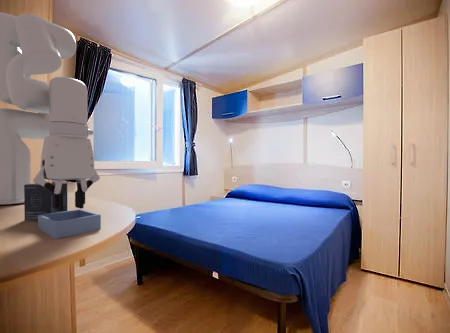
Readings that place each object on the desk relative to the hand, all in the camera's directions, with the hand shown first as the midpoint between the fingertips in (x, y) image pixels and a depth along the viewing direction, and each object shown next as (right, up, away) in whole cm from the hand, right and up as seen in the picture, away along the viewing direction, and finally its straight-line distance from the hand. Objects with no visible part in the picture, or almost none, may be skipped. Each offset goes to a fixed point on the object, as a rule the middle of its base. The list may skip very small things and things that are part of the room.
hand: (69, 208), depth 55 cm
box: (-11, -5, +7) cm, 14 cm away
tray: (0, -5, 0) cm, 5 cm away
